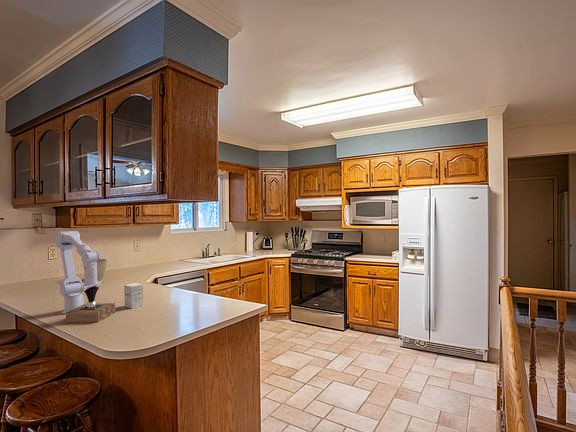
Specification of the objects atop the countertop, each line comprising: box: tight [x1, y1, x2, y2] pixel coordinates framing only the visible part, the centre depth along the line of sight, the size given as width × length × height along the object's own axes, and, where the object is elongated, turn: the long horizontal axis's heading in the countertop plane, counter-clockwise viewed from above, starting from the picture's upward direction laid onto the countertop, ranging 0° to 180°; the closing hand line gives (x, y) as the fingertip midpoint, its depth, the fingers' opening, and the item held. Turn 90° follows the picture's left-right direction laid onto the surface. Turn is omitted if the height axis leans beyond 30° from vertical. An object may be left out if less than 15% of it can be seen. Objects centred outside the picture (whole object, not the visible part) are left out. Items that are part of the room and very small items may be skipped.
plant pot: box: [97, 258, 108, 281], centre depth 269 cm, size 15×15×16 cm
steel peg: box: [86, 300, 97, 308], centre depth 170 cm, size 4×4×5 cm
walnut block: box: [65, 302, 116, 324], centre depth 170 cm, size 16×16×6 cm
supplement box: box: [124, 282, 144, 310], centre depth 189 cm, size 7×7×13 cm
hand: (91, 301), depth 170 cm, fingers closed, pressing on steel peg
